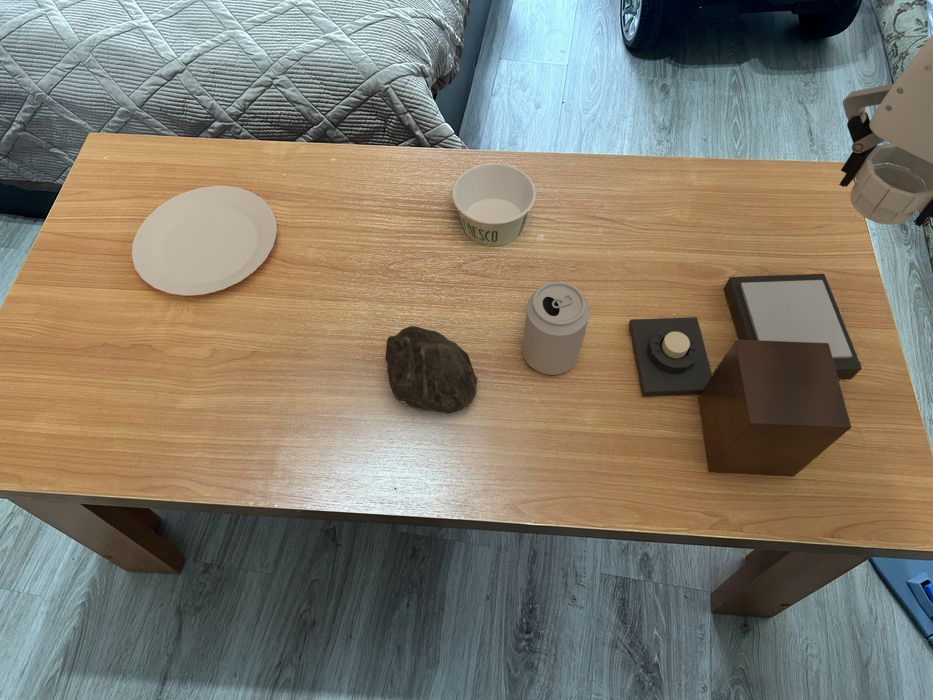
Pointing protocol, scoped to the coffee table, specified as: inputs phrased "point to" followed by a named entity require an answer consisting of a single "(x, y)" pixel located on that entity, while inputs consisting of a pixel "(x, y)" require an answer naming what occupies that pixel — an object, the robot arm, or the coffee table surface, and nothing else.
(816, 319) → the scale
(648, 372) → the pad
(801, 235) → the coffee table surface
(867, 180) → the bowl
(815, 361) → the stand
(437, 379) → the rock
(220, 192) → the plate
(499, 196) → the food container
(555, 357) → the can
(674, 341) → the button
